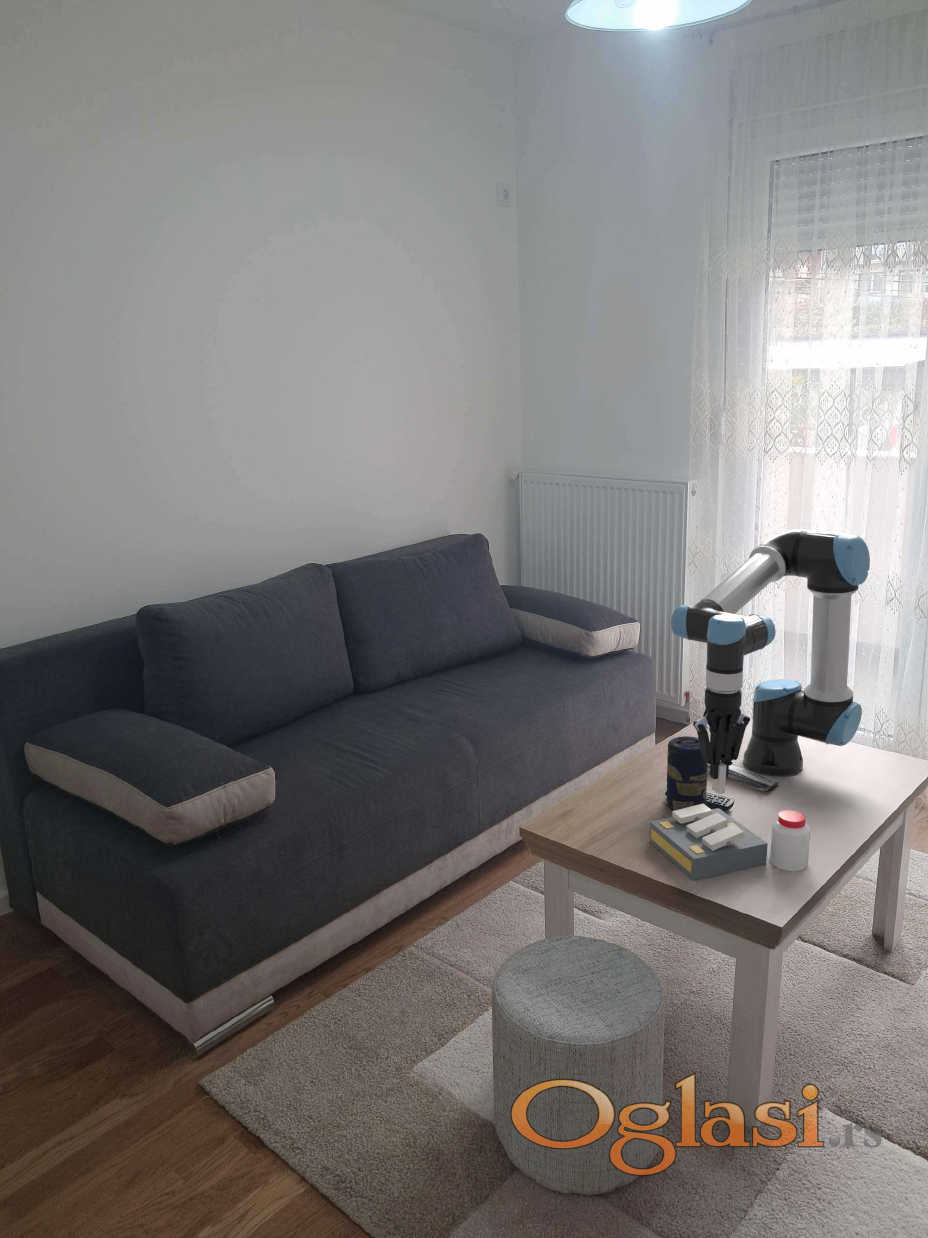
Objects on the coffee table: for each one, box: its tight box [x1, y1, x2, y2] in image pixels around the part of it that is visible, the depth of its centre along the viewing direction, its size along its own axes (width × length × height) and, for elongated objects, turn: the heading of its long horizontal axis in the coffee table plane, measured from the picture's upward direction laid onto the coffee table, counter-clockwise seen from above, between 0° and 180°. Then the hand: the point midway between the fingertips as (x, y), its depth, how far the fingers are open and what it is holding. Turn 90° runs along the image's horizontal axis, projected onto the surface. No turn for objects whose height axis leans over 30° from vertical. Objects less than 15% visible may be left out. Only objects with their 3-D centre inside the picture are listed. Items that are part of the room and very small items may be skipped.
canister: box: [665, 735, 709, 811], centre depth 226 cm, size 10×10×18 cm
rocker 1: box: [671, 804, 712, 824], centre depth 211 cm, size 8×4×2 cm, turn 109°
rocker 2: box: [686, 812, 728, 838], centre depth 205 cm, size 8×4×2 cm, turn 109°
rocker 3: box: [702, 824, 744, 851], centre depth 200 cm, size 8×4×2 cm, turn 109°
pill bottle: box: [769, 809, 811, 872], centre depth 201 cm, size 8×8×11 cm
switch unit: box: [649, 807, 769, 881], centre depth 206 cm, size 18×18×5 cm
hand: (718, 791), depth 204 cm, fingers closed
